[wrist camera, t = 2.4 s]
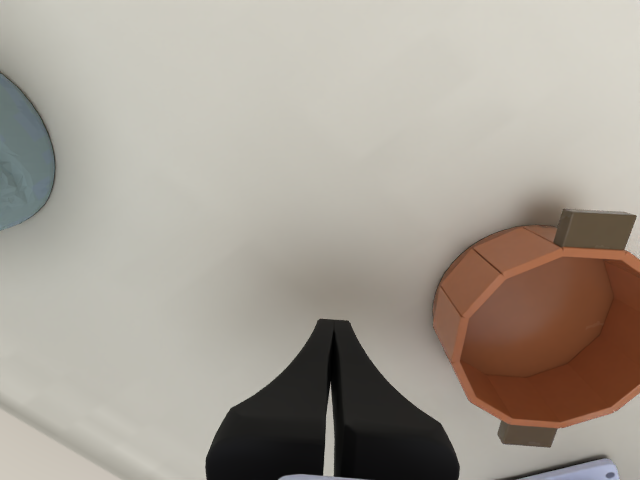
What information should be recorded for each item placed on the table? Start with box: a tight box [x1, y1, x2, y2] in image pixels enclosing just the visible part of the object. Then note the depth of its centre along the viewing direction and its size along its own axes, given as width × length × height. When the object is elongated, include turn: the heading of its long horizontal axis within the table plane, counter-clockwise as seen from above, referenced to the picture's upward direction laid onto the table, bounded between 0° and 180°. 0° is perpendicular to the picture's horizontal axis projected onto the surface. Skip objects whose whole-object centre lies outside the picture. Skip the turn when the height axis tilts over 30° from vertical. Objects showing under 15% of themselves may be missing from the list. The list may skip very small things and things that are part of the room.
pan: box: [433, 209, 640, 448], centre depth 16 cm, size 9×12×4 cm
